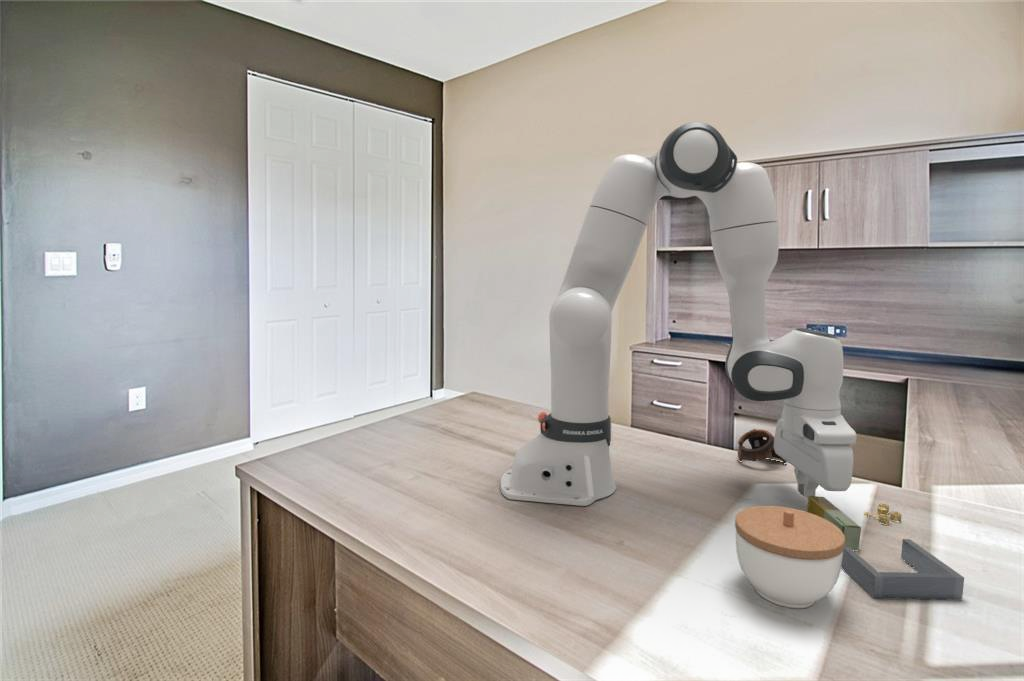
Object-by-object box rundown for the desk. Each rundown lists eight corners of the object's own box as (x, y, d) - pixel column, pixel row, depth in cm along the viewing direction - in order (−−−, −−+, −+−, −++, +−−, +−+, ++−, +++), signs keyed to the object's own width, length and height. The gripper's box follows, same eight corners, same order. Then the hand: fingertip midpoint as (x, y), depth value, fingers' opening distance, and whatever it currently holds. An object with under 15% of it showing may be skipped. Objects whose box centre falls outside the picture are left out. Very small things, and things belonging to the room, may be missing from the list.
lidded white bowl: (733, 609, 67) (737, 524, 66) (731, 559, 79) (734, 486, 78) (850, 632, 63) (857, 542, 62) (830, 576, 75) (835, 499, 73)
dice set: (883, 513, 95) (884, 503, 95) (909, 526, 90) (910, 515, 90) (857, 515, 94) (858, 505, 94) (882, 529, 89) (883, 518, 89)
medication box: (860, 553, 81) (863, 527, 81) (841, 552, 81) (843, 526, 81) (821, 517, 93) (823, 495, 93) (805, 516, 93) (807, 494, 93)
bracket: (873, 598, 69) (875, 576, 69) (830, 557, 79) (832, 538, 79) (962, 599, 69) (964, 577, 69) (908, 558, 79) (909, 539, 79)
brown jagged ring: (797, 472, 115) (784, 442, 112) (753, 488, 117) (740, 459, 114) (774, 441, 126) (763, 413, 123) (735, 456, 128) (722, 429, 125)
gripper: (767, 406, 106) (763, 474, 108) (822, 437, 86) (817, 520, 88) (799, 406, 106) (795, 474, 108) (863, 437, 86) (857, 520, 87)
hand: (805, 495), depth 97 cm, fingers closed
